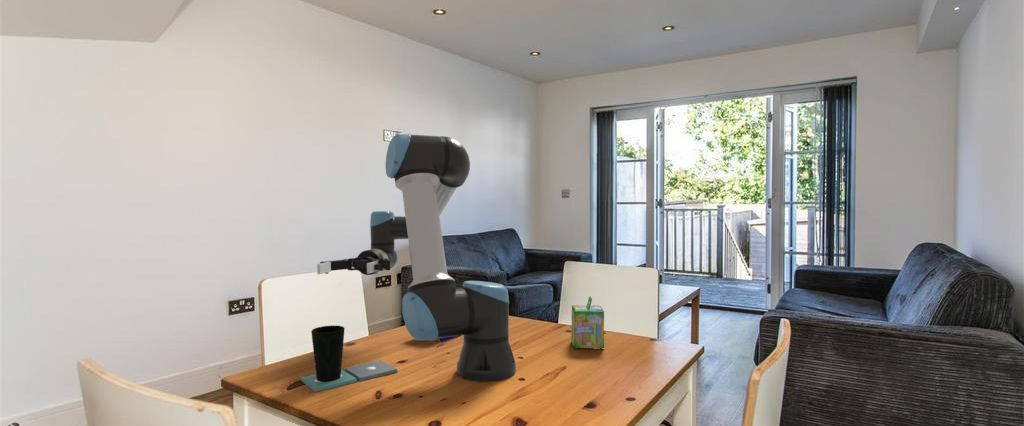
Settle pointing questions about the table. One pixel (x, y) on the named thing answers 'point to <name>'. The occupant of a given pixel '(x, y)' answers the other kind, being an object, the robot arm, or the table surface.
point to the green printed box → (587, 326)
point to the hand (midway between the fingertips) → (343, 268)
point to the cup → (328, 352)
